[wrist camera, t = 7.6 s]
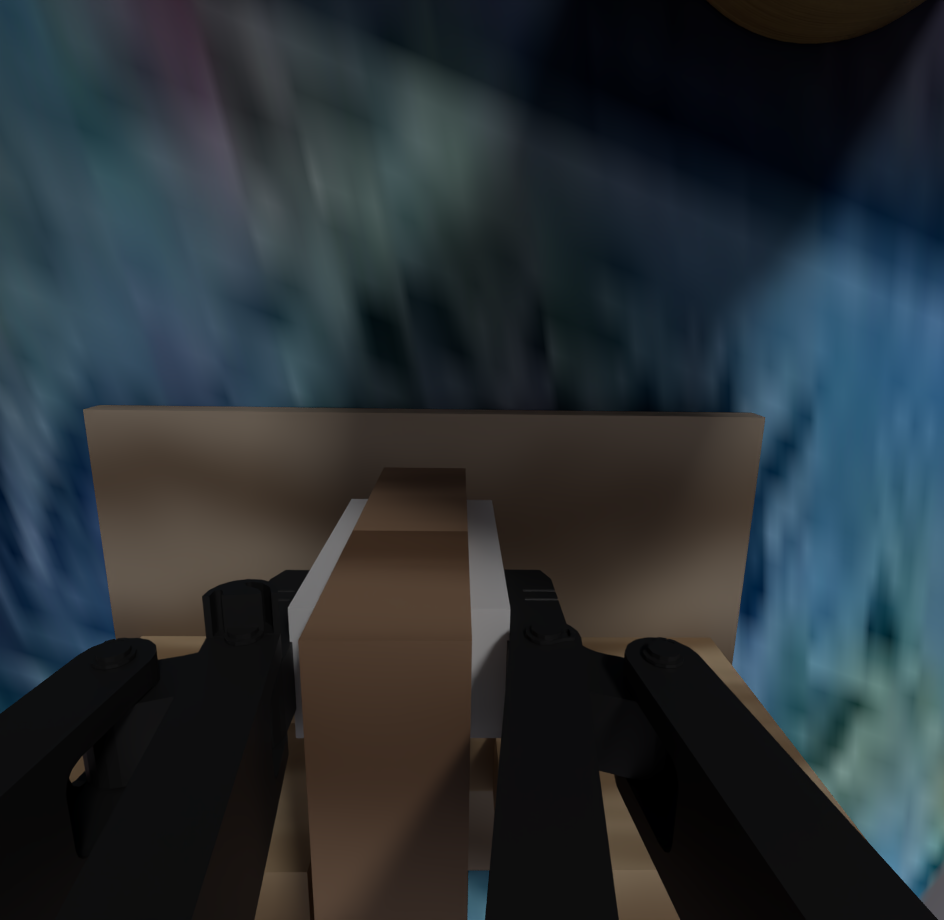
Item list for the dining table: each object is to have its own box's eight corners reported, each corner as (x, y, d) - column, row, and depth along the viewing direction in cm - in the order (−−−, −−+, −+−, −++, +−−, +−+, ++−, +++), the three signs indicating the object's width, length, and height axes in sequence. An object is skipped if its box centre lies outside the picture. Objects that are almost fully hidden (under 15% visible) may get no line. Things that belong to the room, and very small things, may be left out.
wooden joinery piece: (99, 405, 22) (-248, 495, 11) (751, 412, 22) (1020, 505, 12) (160, 851, 27) (-41, 1215, 16) (695, 848, 27) (849, 1197, 16)
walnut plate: (383, 467, 18) (297, 640, 9) (465, 468, 18) (472, 641, 9) (393, 928, 23) (342, 1393, 13) (459, 928, 23) (459, 1390, 13)
